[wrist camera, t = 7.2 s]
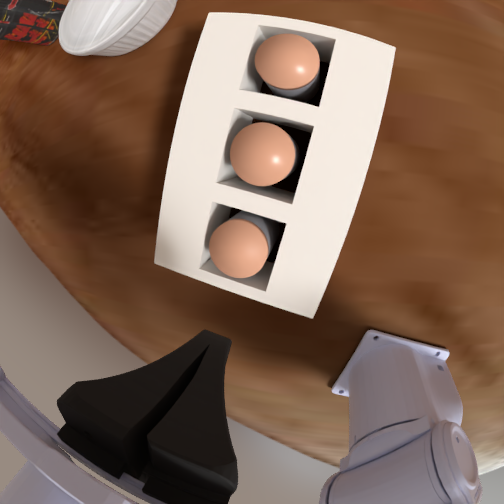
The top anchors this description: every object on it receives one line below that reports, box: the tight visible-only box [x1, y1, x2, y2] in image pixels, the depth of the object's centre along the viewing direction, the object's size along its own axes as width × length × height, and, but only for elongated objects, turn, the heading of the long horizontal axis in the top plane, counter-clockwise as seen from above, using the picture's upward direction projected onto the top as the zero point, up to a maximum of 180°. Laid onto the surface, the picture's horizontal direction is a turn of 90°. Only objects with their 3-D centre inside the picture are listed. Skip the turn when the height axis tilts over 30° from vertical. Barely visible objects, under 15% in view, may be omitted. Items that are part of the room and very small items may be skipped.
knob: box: [255, 34, 320, 103], centre depth 14 cm, size 3×3×5 cm
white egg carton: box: [154, 13, 395, 319], centre depth 16 cm, size 11×17×5 cm, turn 166°
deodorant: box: [0, 0, 66, 46], centre depth 10 cm, size 6×6×15 cm
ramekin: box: [59, 0, 177, 56], centre depth 14 cm, size 11×11×5 cm
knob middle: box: [230, 122, 300, 186], centre depth 16 cm, size 3×3×5 cm
